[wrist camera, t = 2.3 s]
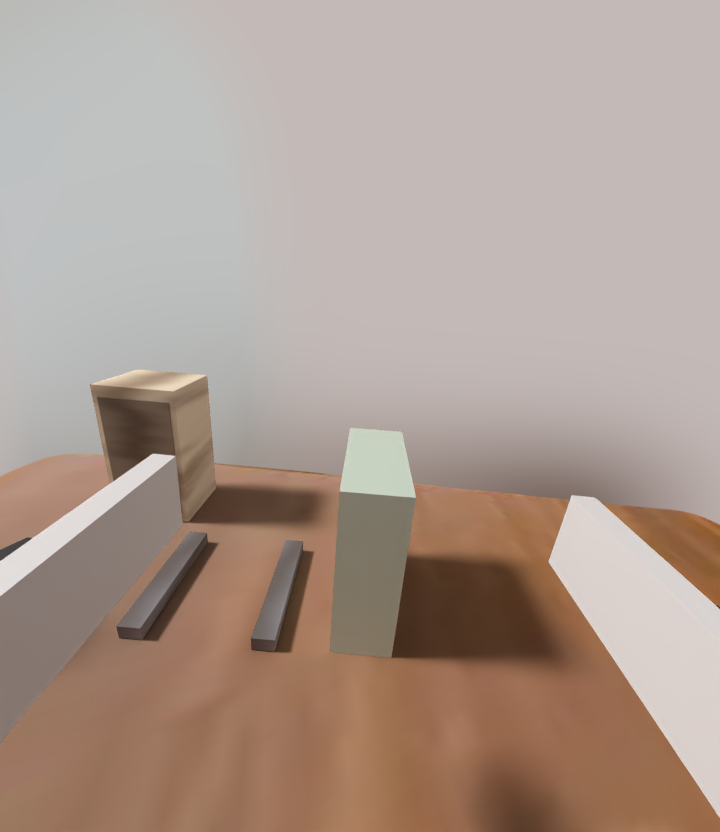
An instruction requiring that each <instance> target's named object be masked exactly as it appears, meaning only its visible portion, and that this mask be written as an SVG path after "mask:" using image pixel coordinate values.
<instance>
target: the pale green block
mask: <svg viewBox="0 0 720 832" xmlns="http://www.w3.org/2000/svg"><path fill="white" fill-rule="evenodd" d="M415 501H416V496H415V491H414V486H413V482H412V477H411V472H410V468H409V463H408V458H407V454H406V449H405V444H404V440H403V435H402V432H395V431H383V430H370V429H359V428H350V433H349V439H348V445H347V451H346V457H345V462H344V469H343V474H342V480H341V486H340V493H339V509H338V525H337V541H336V557H335V573H334V588H333V604H332V620H331V636H330V652H334V653H345V654H356V655H368V656H379V657H390V658H392V651H393V645H394V638H395V632H396V625H397V618H398V612H399V605H400V599H401V592H402V586H403V579H404V573H405V566H406V560H407V553H408V547H409V540H410V533H411V527H412V520H413V514H414V507H415Z"/></svg>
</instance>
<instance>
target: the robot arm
mask: <svg viewBox="0 0 720 832" xmlns="http://www.w3.org/2000/svg"><path fill="white" fill-rule="evenodd" d="M182 526H183V523H182V513H181V503H180V493H179V483H178V472H177V462H176V456H172V455H162V454H152V455H150V456H149V457H147V458H146V459H144V460H143V461H142V462H140V463H139V464H137V465H136V466H135V467H133V468H132V469H130V470H129V471H127V472H126V473H125V474H123V475H122V476H120V477H119V478H118V479H116V480H115V481H113V482H112V483H110V484H109V485H108V486H106V487H105V488H103V489H102V490H101V491H99V492H98V493H96V494H95V495H93V496H92V497H91V498H89V499H88V500H86V501H85V502H83V503H82V504H81V505H79V506H78V507H76V508H75V509H74V510H72V511H71V512H69V513H68V514H66V515H65V516H64V517H62V518H61V519H59V520H58V521H57V522H55V523H54V524H52V525H51V526H49V527H48V528H47V529H45V530H44V531H42V532H41V533H39V534H38V535H37V536H35V537H34V538H25V539H23V540H21V541H19V542H17V543H14V544H12V545H10V546H8V547H6V548H4V549H1V550H0V743H1V742H2V740H3V739H4V738H5V737H6V736H7V734H8V733H9V732H10V731H11V730H12V728H13V727H14V726H15V725H16V724H17V723H18V721H19V720H20V719H21V718H22V717H23V715H24V714H25V713H26V712H27V711H28V709H29V708H30V707H31V706H32V705H33V703H34V702H35V701H36V700H37V699H38V697H39V696H40V695H41V694H42V693H43V691H44V690H45V689H46V688H47V687H48V686H49V684H50V683H51V682H52V681H53V680H54V678H55V677H56V676H57V675H58V674H59V672H60V671H61V670H62V669H63V668H64V666H65V665H66V664H67V663H68V662H69V660H70V659H71V658H72V657H73V656H74V654H75V653H76V652H77V651H78V650H79V649H80V647H81V646H82V645H83V644H84V643H85V641H86V640H87V639H88V638H89V637H90V635H91V634H92V633H93V632H94V631H95V629H96V628H97V627H98V626H99V625H100V623H101V622H102V621H103V620H104V619H105V617H106V616H107V615H108V614H109V613H110V612H111V610H112V609H113V608H114V607H115V606H116V604H117V603H118V602H119V601H120V600H121V598H122V597H123V596H124V595H125V594H126V592H127V591H128V590H129V589H130V588H131V586H132V585H133V584H134V583H135V582H136V580H137V579H138V578H139V577H140V576H141V575H142V573H143V572H144V571H145V570H146V569H147V567H148V566H149V565H150V564H151V563H152V561H153V560H154V559H155V558H156V557H157V555H158V554H159V553H160V552H161V551H162V549H163V548H164V547H165V546H166V545H167V543H168V542H169V541H170V540H171V539H172V538H173V536H174V535H175V534H176V533H177V532H178V530H179V529H180V528H181V527H182ZM549 563H550V565H551V566H552V568H553V569H554V571H555V572H556V574H557V575H558V577H559V578H560V580H561V581H562V583H563V584H564V586H565V587H566V589H567V590H568V592H569V593H570V595H571V596H572V598H573V599H574V601H575V602H576V604H577V605H578V607H579V608H580V610H581V611H582V613H583V614H584V616H585V617H586V619H587V620H588V622H589V623H590V625H591V626H592V628H593V629H594V631H595V632H596V634H597V635H598V637H599V638H600V640H601V641H602V643H603V644H604V646H605V647H606V649H607V650H608V651H609V653H610V654H611V656H612V657H613V659H614V660H615V662H616V663H617V665H618V666H619V668H620V669H621V671H622V672H623V674H624V675H625V677H626V678H627V680H628V681H629V683H630V684H631V686H632V687H633V689H634V690H635V692H636V693H637V695H638V696H639V698H640V699H641V701H642V702H643V704H644V705H645V707H646V708H647V710H648V711H649V713H650V714H651V716H652V717H653V719H654V720H655V722H656V723H657V725H658V726H659V728H660V729H661V731H662V732H663V734H664V735H665V737H666V738H667V740H668V741H669V743H670V744H671V746H672V747H673V749H674V750H675V752H676V753H677V755H678V756H679V758H680V759H681V761H682V762H683V764H684V765H685V767H686V768H687V770H688V771H689V773H690V774H691V776H692V777H693V778H694V780H695V781H696V783H697V784H698V786H699V787H700V789H701V790H702V792H703V793H704V795H705V796H706V798H707V799H708V801H709V802H710V804H711V805H712V807H713V808H714V810H715V811H716V813H717V814H718V816H719V817H720V607H719V606H717V605H715V604H713V603H712V602H711V601H710V600H709V599H708V598H707V597H706V596H704V595H703V594H702V593H701V592H700V591H699V590H698V589H697V588H696V587H694V586H693V585H692V584H691V583H690V582H689V581H688V580H687V579H685V578H684V577H683V576H682V575H681V574H680V573H679V572H678V571H677V570H675V569H674V568H673V567H672V566H671V565H670V564H669V563H668V562H666V561H665V560H664V559H663V558H662V557H661V556H660V555H659V554H657V553H656V552H655V551H654V550H653V549H652V548H651V547H650V546H649V545H647V544H646V543H645V542H644V541H643V540H642V539H641V538H640V537H638V536H637V535H636V534H635V533H634V532H633V531H632V530H631V529H629V528H628V527H627V526H626V525H625V524H624V523H623V522H622V521H621V520H619V519H618V518H617V517H616V516H615V515H614V514H613V513H612V512H610V511H609V510H608V509H607V508H606V507H605V506H604V505H603V504H602V503H600V502H599V501H598V500H597V499H596V498H593V497H583V496H573V495H572V497H571V499H570V502H569V505H568V508H567V511H566V514H565V516H564V519H563V522H562V525H561V528H560V531H559V534H558V536H557V539H556V542H555V545H554V548H553V551H552V554H551V556H550V559H549Z"/></svg>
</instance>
